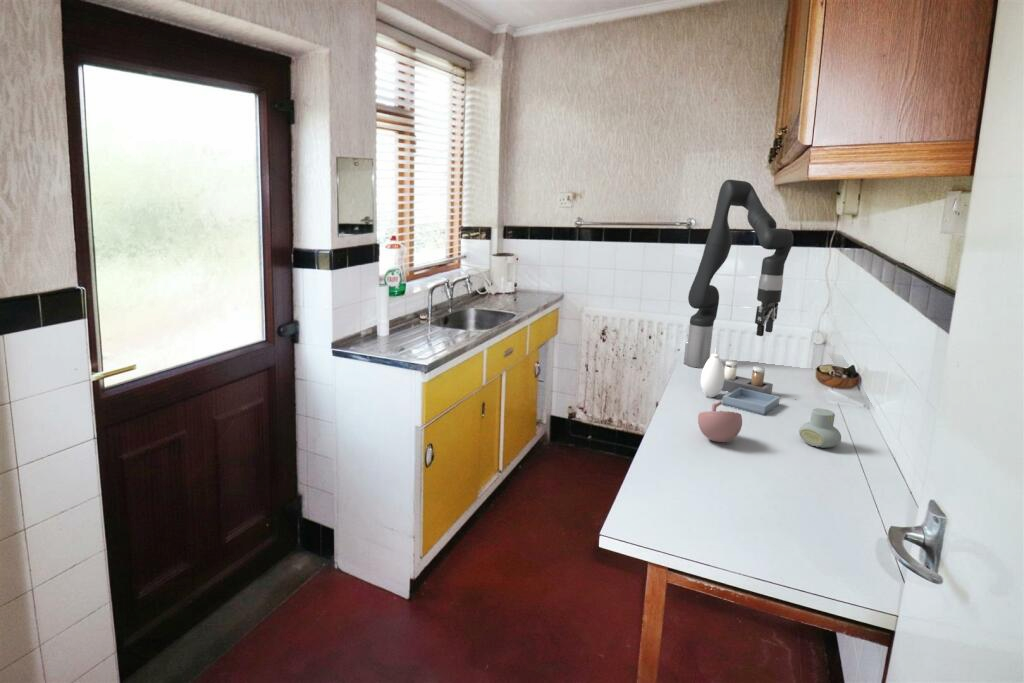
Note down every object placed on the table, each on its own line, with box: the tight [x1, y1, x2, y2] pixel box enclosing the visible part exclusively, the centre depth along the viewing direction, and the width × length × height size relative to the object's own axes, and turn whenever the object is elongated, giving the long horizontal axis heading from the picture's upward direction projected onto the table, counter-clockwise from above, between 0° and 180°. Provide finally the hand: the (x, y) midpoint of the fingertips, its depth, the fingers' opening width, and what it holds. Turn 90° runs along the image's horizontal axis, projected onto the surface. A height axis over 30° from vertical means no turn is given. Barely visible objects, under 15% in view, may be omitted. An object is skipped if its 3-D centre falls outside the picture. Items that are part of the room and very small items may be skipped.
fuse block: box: [721, 375, 774, 395], centre depth 224 cm, size 18×9×4 cm, turn 49°
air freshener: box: [798, 407, 842, 449], centre depth 177 cm, size 11×8×10 cm
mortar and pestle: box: [697, 400, 743, 443], centre depth 177 cm, size 12×12×12 cm
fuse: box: [724, 360, 738, 381], centre depth 226 cm, size 4×4×10 cm
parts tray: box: [721, 387, 781, 416], centre depth 209 cm, size 14×14×3 cm
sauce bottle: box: [700, 346, 725, 398], centre depth 215 cm, size 8×8×18 cm
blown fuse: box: [750, 365, 766, 387], centre depth 220 cm, size 4×4×10 cm
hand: (764, 333), depth 215 cm, fingers open, 8 cm apart
